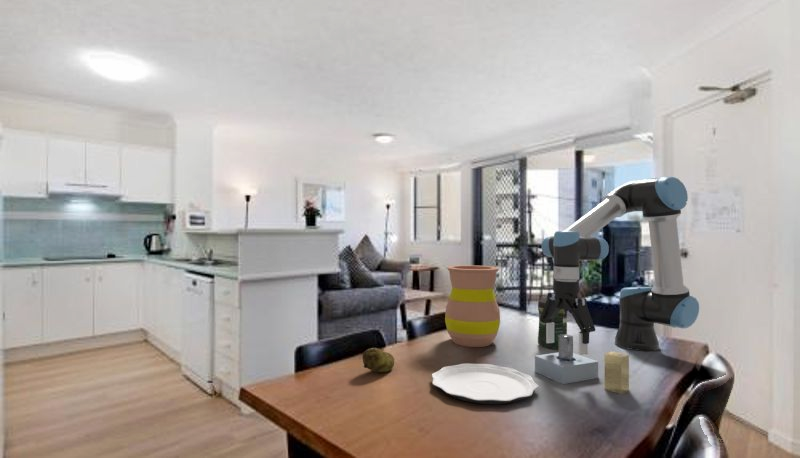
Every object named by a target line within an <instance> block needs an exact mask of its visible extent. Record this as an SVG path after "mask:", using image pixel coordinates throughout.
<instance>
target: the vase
mask: <svg viewBox="0 0 800 458" xmlns="http://www.w3.org/2000/svg"><path fill="white" fill-rule="evenodd" d="M445 268H446V269H447V270H448V271H449V279H450V283H451V288H452V289H451V290H450V295H449V298H448V300H447V303H446V306H445V314H444V315H445V318H444V321H445V326H446V330H447V334H448V335H449V337H450V339H451V340H452V342H453V343H454V344H455V345H458V346H461V347H467V348H468V347H469V348H484V347H489V346H490V345H492V343H493V342H494V340H495V339H496V337H497V335H498V332H499V329H500V324H501V312H500V307H499V304H498V302H497V301H498V300H497V298H496V295H495V292H494V291H495V290H494V287H495V284H496V283H495V282H496V279H497V272H498V271H499V270H500V269H501V268H500V267H498V266H491V265H489V266H488V265H470V264H469V265H464V264H463V265H448V266H446V267H445Z"/></svg>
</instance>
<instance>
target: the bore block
mask: <svg viewBox="0 0 800 458" xmlns="http://www.w3.org/2000/svg"><path fill="white" fill-rule="evenodd" d="M534 372H535V373H538V374H540V375H542V376H544V377H546V378H549V379H551V380H553V381H556V382H557V383H559V384H562V385H565V384H571V383H577V382H582V381H588V380H593V379H594V380H595V379H599V361H598V360H595V359H592V358H589V357H587V356H584V355H580V354H579V353H575V352H573V361H562V360H559V351H557V352H551V353H545V354H539V355H537V354H536V355H534Z"/></svg>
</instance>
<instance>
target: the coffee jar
mask: <svg viewBox="0 0 800 458" xmlns="http://www.w3.org/2000/svg"><path fill="white" fill-rule="evenodd" d="M546 301H547V297H544V298H543V297H542V298H539V300H538V302H537V303H538V305H537V310H538V316H539V317H538V333H537V335H538V336H537V344H538V345H539V346H541V347H545V348H546V349H551V350H552V349H556V350H559V335H562V334H564V332H563V313H564V309H563V310H560V312H559V313H558V314H557V316H556V317H555V318H554V320H553V321H554V322H553V323H554V343H546V331H545V321H544V320H543V319H541V318H540V316H541V314H542V311H543V309H544V306H545V304H546ZM555 302H556V300H555ZM554 304H555V303H554Z"/></svg>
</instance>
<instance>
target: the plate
mask: <svg viewBox="0 0 800 458" xmlns="http://www.w3.org/2000/svg"><path fill="white" fill-rule="evenodd" d="M430 376H431V377H432V378H431V379H432V382H431V384H432V385H433V387H436V388H438V389H440V390H442V391H443V392H445V393H446V394H447V395H449V396H451V397H452V398H455V399H458V400H461V401H465V402H469V403H475V404H482V405H502V404H510V403H513V402H517V401H519V400H522V399H527V398H529V397H531V396H532V395H533V393H534V392H535V390H537V389H539V385H538V383H536V382H535V381H534V379H533V377H532V376H531V375H529V374H526V373H524V372H520V371H518V370H516V369H515V368H512V367H507V366H500V365H496V364H491V363H465V362H464V363H460V364H455V365H447V366H443V367H441V369H439V370H437V371H436V372H433V373H432V374H431V375H430Z"/></svg>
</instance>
